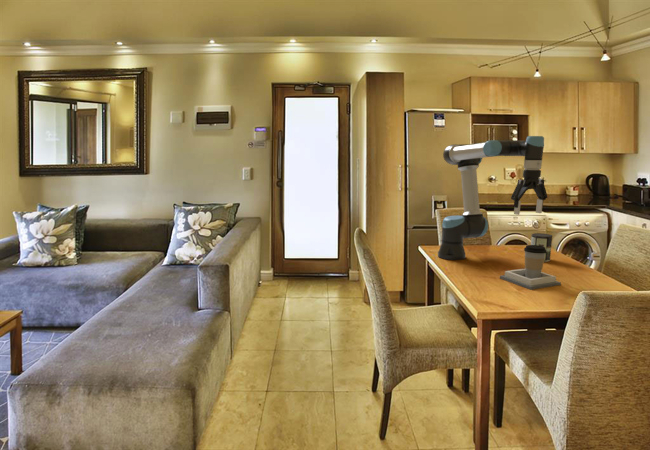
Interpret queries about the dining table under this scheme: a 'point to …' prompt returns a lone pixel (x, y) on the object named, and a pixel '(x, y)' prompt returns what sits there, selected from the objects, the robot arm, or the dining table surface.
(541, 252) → the coffee cup
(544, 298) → the dining table surface
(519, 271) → the cup dock
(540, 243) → the coffee can
